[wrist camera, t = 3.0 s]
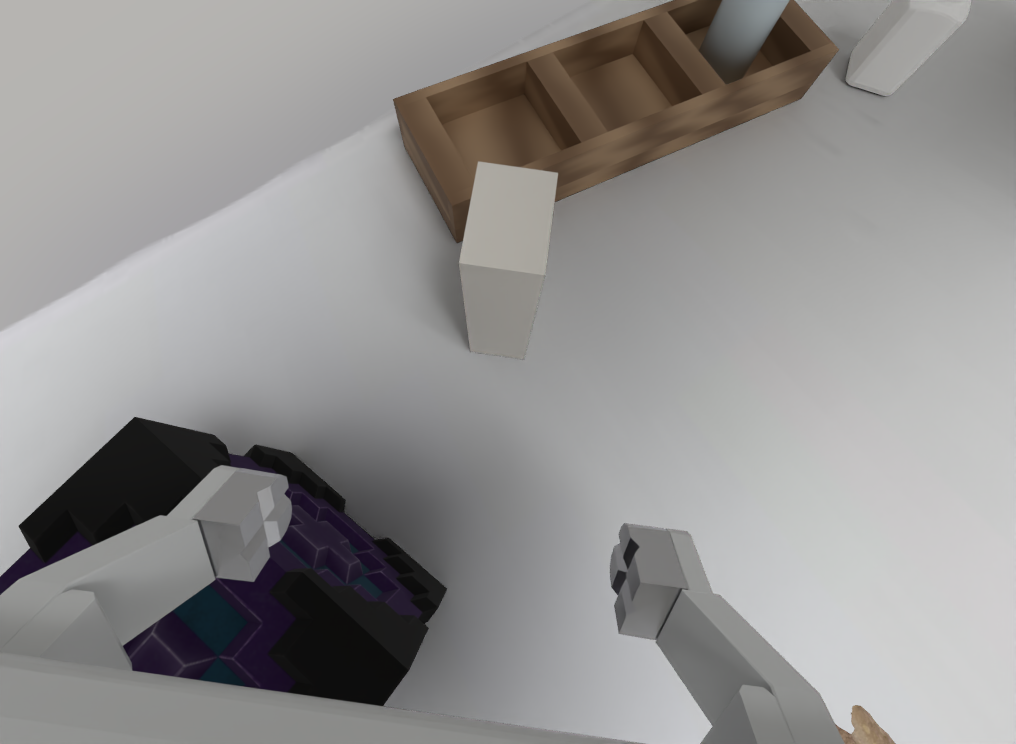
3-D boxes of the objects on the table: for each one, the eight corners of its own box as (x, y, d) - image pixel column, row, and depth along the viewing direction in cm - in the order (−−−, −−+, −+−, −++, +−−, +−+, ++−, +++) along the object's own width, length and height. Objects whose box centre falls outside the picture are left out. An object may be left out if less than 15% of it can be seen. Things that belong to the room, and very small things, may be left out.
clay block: (533, 289, 29) (558, 172, 19) (524, 359, 28) (545, 275, 17) (482, 282, 29) (478, 161, 19) (470, 351, 28) (458, 262, 17)
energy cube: (287, 802, 21) (49, 1160, 10) (124, 633, 23) (-242, 770, 11) (447, 588, 24) (409, 670, 13) (292, 453, 26) (134, 416, 14)
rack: (736, 23, 37) (764, -32, 33) (800, 98, 35) (839, 49, 31) (404, 146, 32) (392, 99, 28) (456, 243, 30) (451, 205, 26)
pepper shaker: (894, 67, 36) (1029, -77, 27) (889, 101, 35) (1027, -37, 26) (847, 52, 37) (966, -95, 28) (840, 86, 36) (961, -56, 27)
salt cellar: (726, 38, 35) (806, -115, 26) (756, 74, 34) (848, -73, 25) (685, 54, 34) (752, -98, 25) (714, 91, 33) (794, -54, 24)
